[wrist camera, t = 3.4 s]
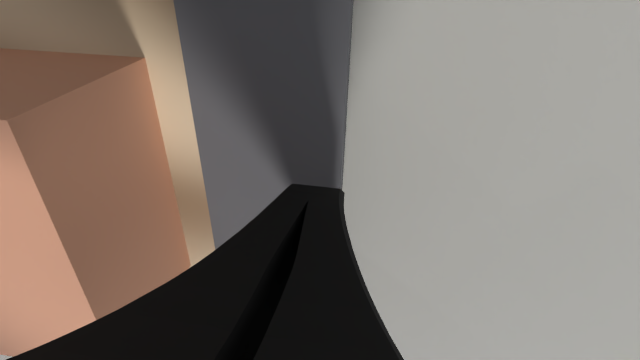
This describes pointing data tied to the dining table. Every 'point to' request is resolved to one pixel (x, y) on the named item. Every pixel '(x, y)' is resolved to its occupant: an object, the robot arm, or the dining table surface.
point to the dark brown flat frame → (163, 67)
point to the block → (80, 193)
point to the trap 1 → (265, 99)
